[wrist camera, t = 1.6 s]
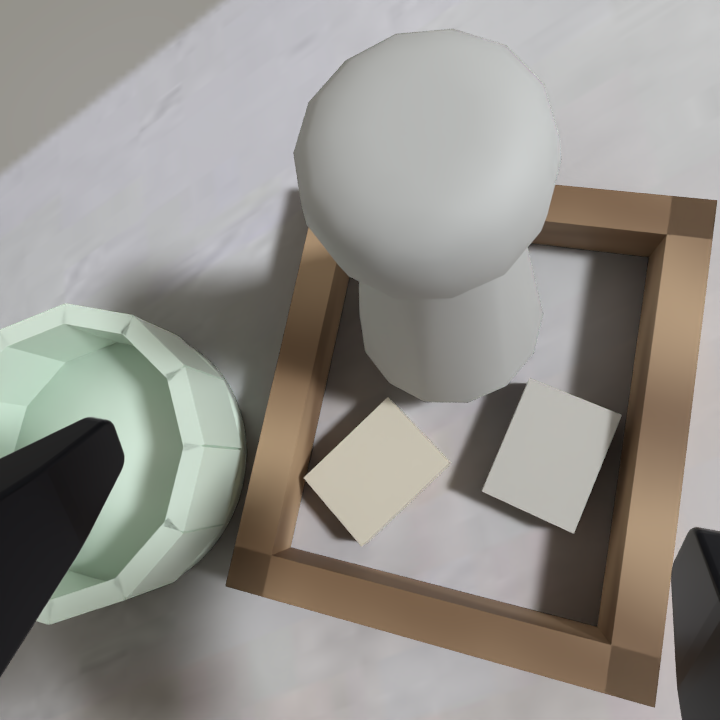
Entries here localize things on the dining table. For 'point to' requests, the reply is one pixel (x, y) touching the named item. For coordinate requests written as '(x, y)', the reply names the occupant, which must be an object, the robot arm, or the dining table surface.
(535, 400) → the off-white rectangular block
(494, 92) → the salt shaker
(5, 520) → the robot arm
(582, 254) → the dining table surface
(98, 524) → the bowl
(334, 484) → the beige rectangular block
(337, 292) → the tray
